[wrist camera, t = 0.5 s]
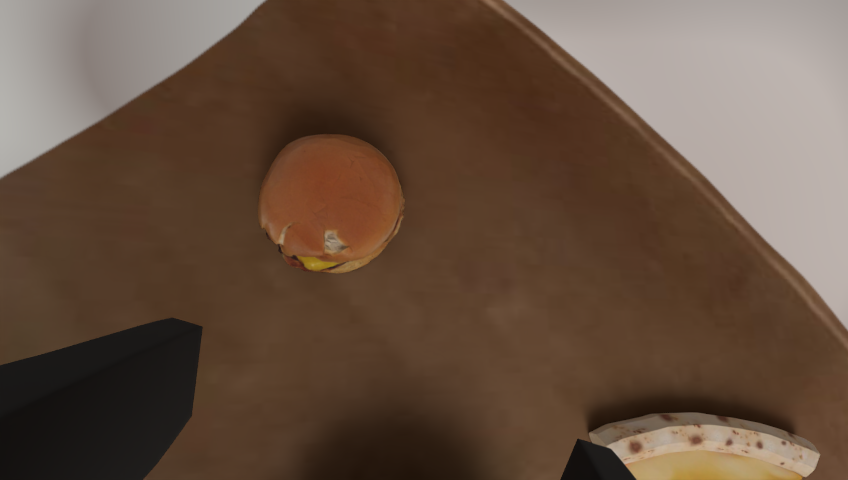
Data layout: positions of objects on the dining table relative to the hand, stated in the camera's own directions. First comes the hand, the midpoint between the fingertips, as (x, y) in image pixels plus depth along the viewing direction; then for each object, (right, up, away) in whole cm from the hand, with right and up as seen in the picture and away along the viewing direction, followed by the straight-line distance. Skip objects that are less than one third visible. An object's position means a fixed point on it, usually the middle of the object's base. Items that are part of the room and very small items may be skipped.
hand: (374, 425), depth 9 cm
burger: (-6, +5, +27) cm, 28 cm away
